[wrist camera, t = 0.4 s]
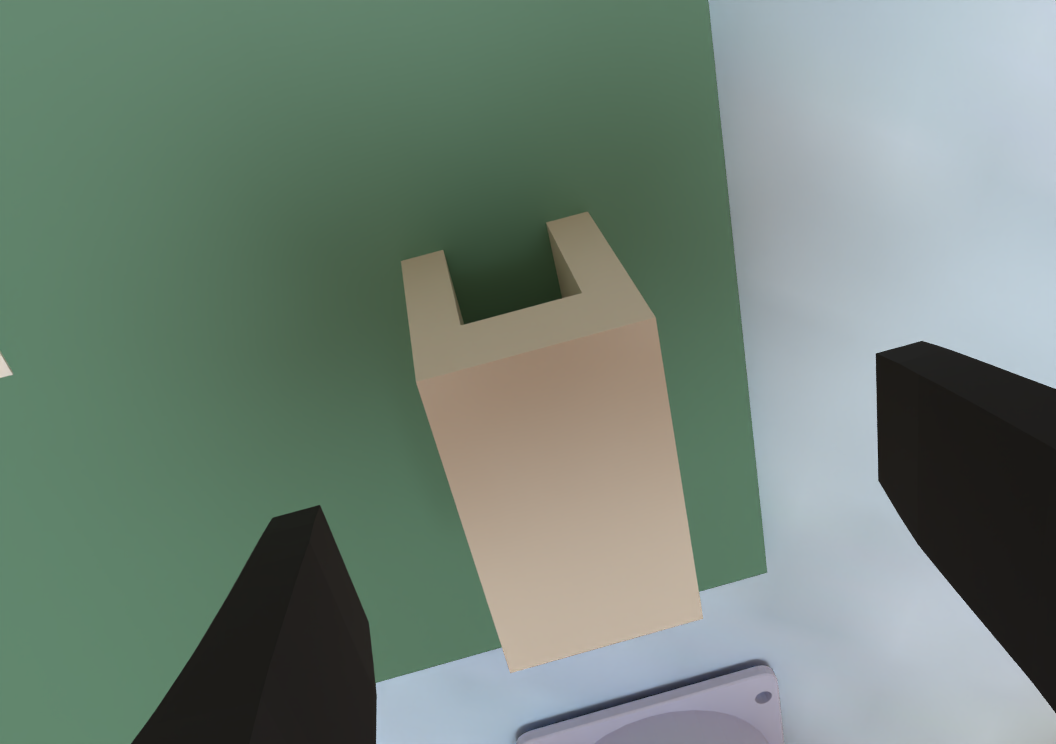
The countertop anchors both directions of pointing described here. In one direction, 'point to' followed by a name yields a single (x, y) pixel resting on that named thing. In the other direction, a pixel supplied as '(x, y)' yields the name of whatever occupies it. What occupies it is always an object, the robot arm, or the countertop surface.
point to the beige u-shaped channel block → (559, 452)
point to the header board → (316, 303)
